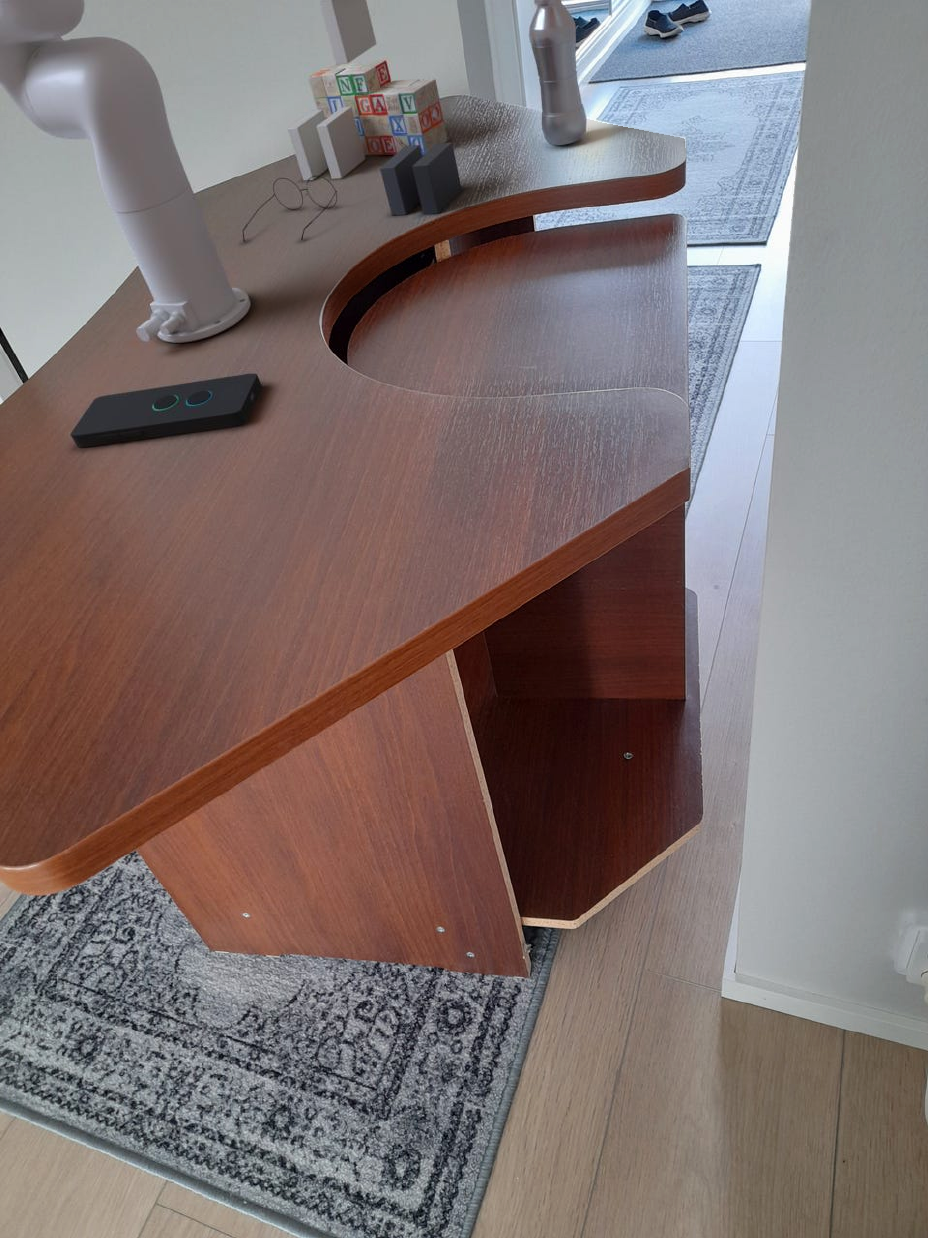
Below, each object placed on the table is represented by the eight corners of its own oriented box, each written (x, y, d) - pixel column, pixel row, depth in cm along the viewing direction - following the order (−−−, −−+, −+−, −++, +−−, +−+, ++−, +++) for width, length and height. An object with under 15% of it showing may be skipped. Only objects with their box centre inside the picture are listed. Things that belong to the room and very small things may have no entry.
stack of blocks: (449, 141, 147) (431, 55, 138) (427, 156, 144) (407, 70, 135) (352, 140, 158) (330, 62, 150) (329, 155, 155) (306, 75, 146)
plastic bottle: (576, 150, 131) (557, -11, 118) (536, 150, 135) (513, -6, 121) (596, 133, 135) (580, -26, 121) (556, 134, 138) (537, -21, 125)
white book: (348, 63, 121) (318, -49, 112) (336, 64, 122) (306, -47, 113) (376, 43, 126) (350, -66, 117) (365, 45, 127) (338, -63, 118)
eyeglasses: (307, 240, 128) (295, 204, 125) (238, 242, 133) (225, 208, 130) (345, 207, 135) (335, 172, 131) (278, 210, 140) (267, 176, 137)
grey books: (438, 213, 125) (427, 164, 121) (391, 215, 128) (379, 167, 124) (461, 189, 130) (452, 141, 125) (416, 191, 133) (405, 145, 129)
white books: (342, 178, 145) (326, 124, 139) (303, 180, 148) (287, 128, 142) (365, 158, 149) (351, 106, 144) (327, 161, 153) (312, 110, 147)
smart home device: (238, 411, 93) (67, 436, 97) (244, 425, 94) (75, 449, 98) (258, 370, 99) (95, 395, 103) (263, 383, 100) (102, 408, 104)
